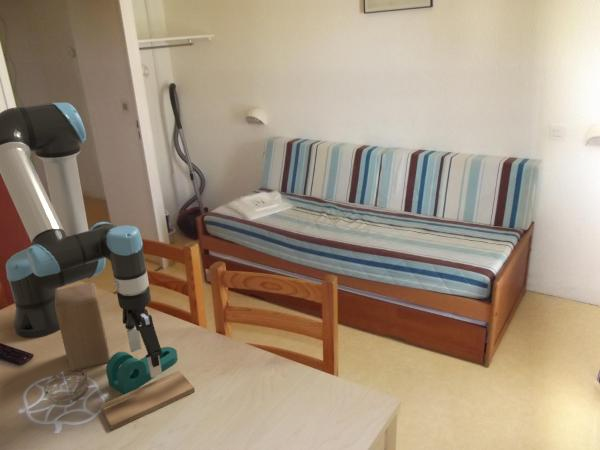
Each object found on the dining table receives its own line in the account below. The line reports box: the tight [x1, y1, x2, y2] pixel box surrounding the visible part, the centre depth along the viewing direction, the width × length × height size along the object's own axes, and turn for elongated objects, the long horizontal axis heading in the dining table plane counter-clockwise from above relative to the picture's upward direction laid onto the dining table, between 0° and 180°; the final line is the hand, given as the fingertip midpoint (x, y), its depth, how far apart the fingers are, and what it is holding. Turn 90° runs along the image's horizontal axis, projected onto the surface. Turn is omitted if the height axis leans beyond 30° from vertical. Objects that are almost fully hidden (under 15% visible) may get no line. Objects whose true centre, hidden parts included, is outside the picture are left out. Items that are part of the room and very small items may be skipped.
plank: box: [99, 370, 195, 431], centre depth 123 cm, size 8×20×1 cm, turn 127°
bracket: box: [105, 346, 179, 395], centre depth 132 cm, size 18×7×8 cm, turn 143°
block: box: [55, 282, 111, 372], centre depth 136 cm, size 10×10×20 cm
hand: (145, 362), depth 132 cm, fingers open, 13 cm apart
